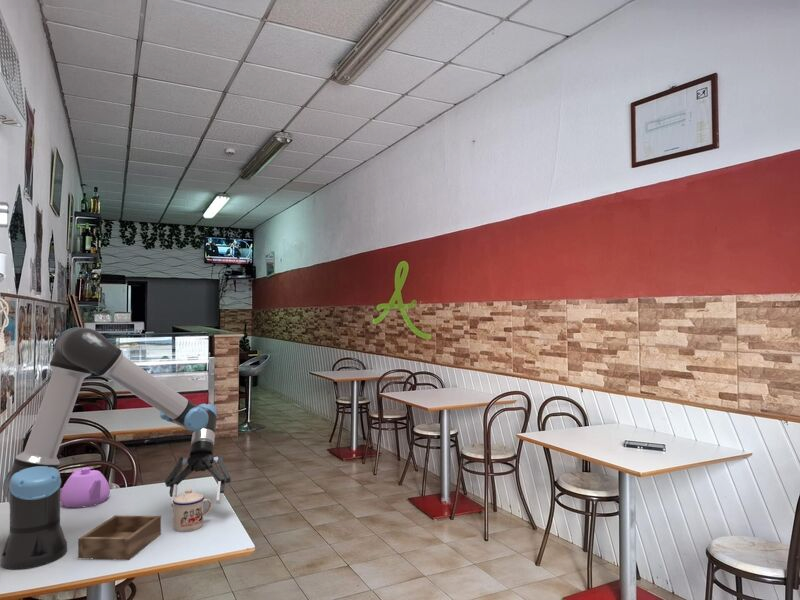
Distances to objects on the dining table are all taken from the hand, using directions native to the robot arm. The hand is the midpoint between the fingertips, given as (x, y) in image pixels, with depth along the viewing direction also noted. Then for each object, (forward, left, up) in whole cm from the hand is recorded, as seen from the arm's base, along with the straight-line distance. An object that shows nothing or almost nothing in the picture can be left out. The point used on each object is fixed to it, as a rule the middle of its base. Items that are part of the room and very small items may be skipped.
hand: (195, 504), depth 174 cm
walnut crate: (-15, -17, -6) cm, 23 cm away
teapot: (-50, +20, -7) cm, 54 cm away
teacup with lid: (-1, -1, -7) cm, 7 cm away
